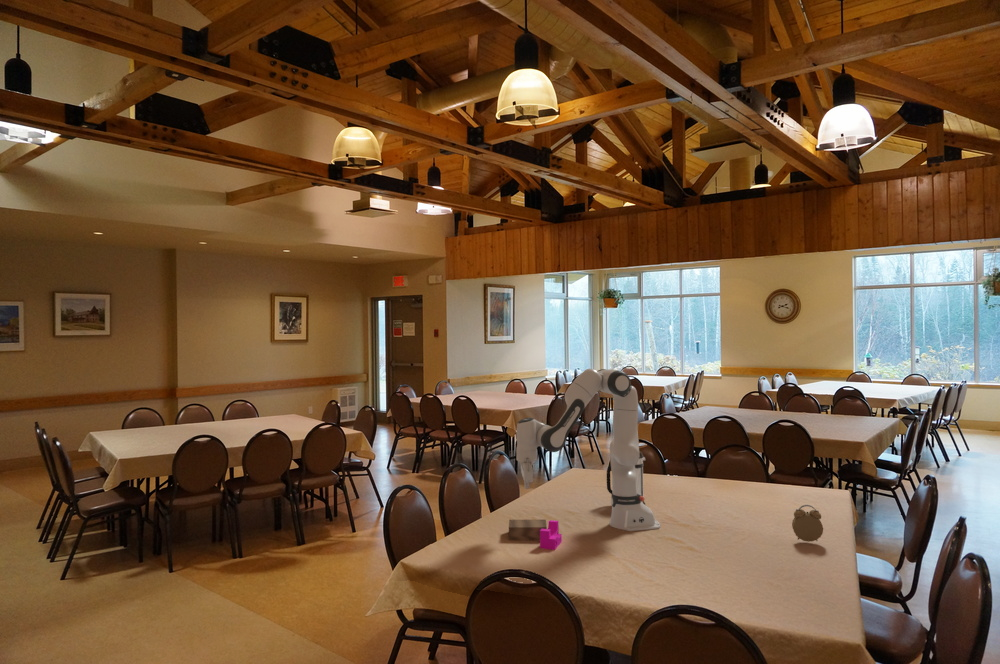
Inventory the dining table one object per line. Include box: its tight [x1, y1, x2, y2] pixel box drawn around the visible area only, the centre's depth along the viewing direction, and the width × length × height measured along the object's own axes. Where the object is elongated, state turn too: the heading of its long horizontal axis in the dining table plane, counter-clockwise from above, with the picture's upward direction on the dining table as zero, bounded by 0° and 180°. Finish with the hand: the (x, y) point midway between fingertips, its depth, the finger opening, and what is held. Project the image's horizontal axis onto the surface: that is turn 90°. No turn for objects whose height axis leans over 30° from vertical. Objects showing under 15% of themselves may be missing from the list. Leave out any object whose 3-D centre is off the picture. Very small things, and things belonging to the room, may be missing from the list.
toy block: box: [539, 519, 563, 551], centre depth 257 cm, size 15×6×8 cm, turn 160°
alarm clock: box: [791, 504, 824, 543], centre depth 255 cm, size 11×5×15 cm, turn 73°
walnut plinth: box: [508, 519, 548, 541], centre depth 266 cm, size 16×11×6 cm
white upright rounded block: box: [606, 450, 647, 505], centre depth 315 cm, size 17×16×30 cm
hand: (526, 488), depth 266 cm, fingers closed
